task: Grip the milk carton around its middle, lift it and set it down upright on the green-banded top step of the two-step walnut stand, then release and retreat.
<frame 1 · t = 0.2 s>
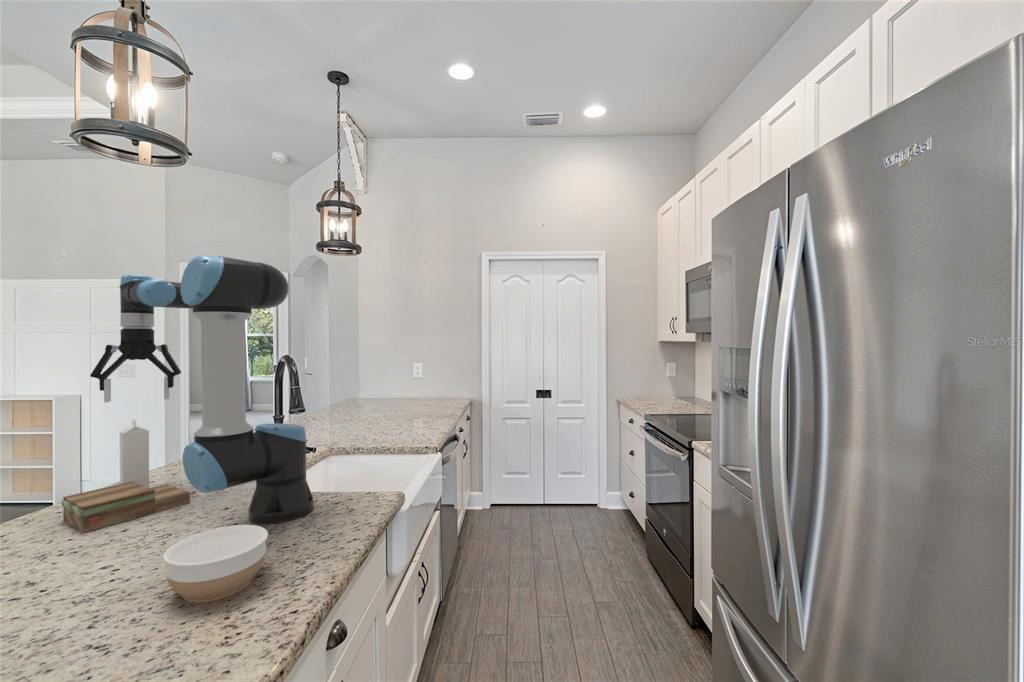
hand: (138, 400, 129), 28 cm above the countertop, fingers open, 13 cm apart
stand: (110, 516, 113), on the countertop
milk: (134, 495, 129), on the countertop
bowl: (218, 586, 81), on the countertop
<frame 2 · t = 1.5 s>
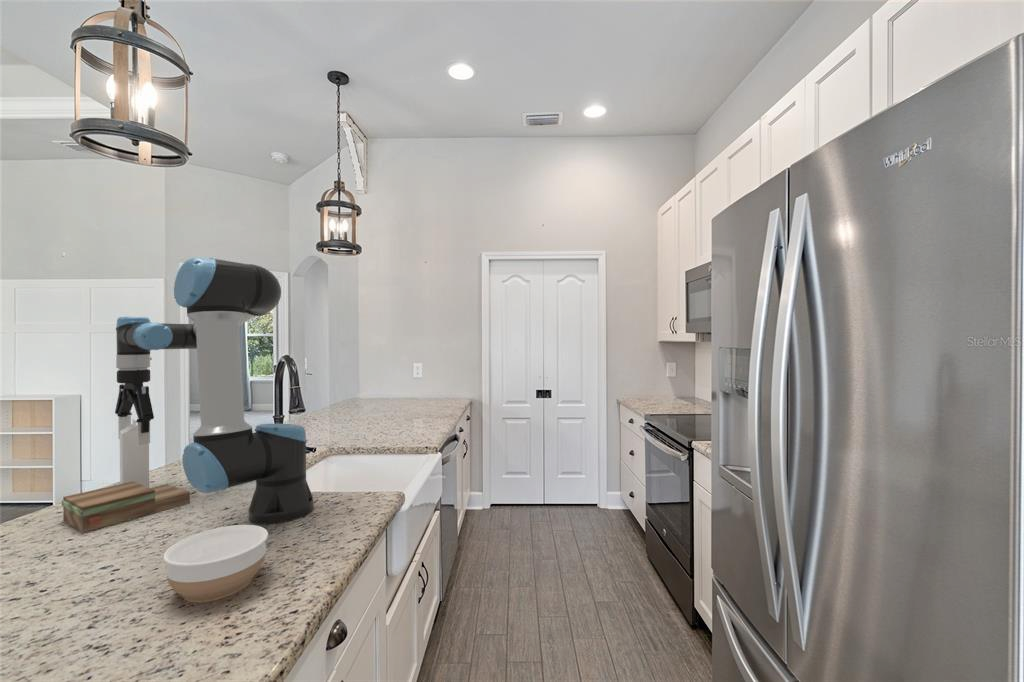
hand: (133, 441, 129), 16 cm above the countertop, fingers open, 13 cm apart
nothing on the countertop moved.
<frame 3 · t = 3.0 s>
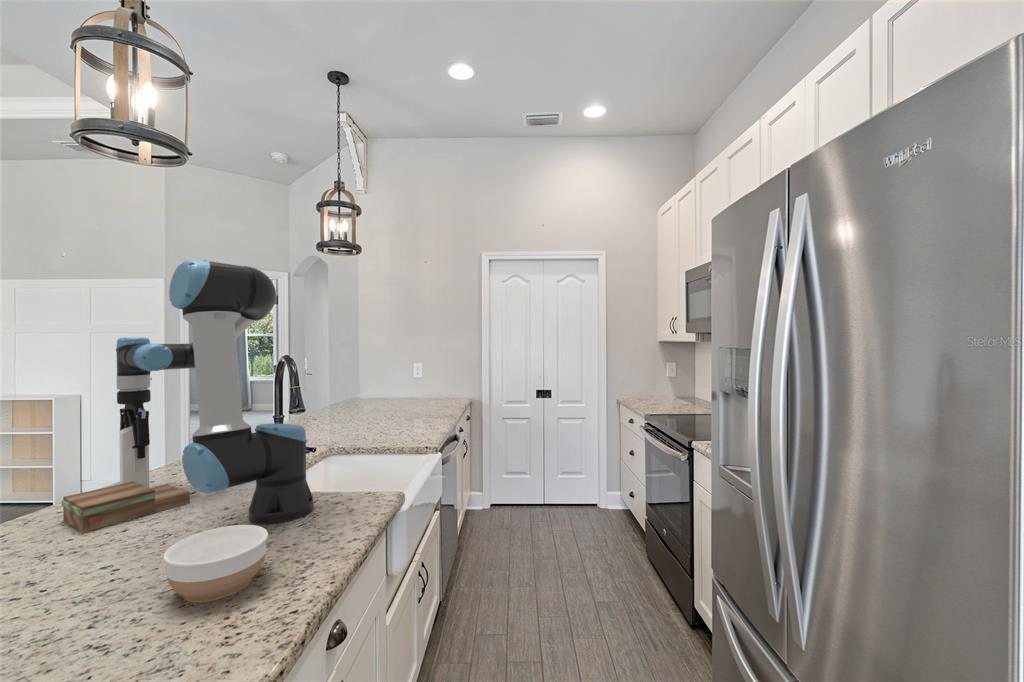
hand: (134, 467, 129), 8 cm above the countertop, fingers closed on milk, 7 cm apart
milk: (134, 495, 129), on the countertop, touching gripper
everything else where it was.
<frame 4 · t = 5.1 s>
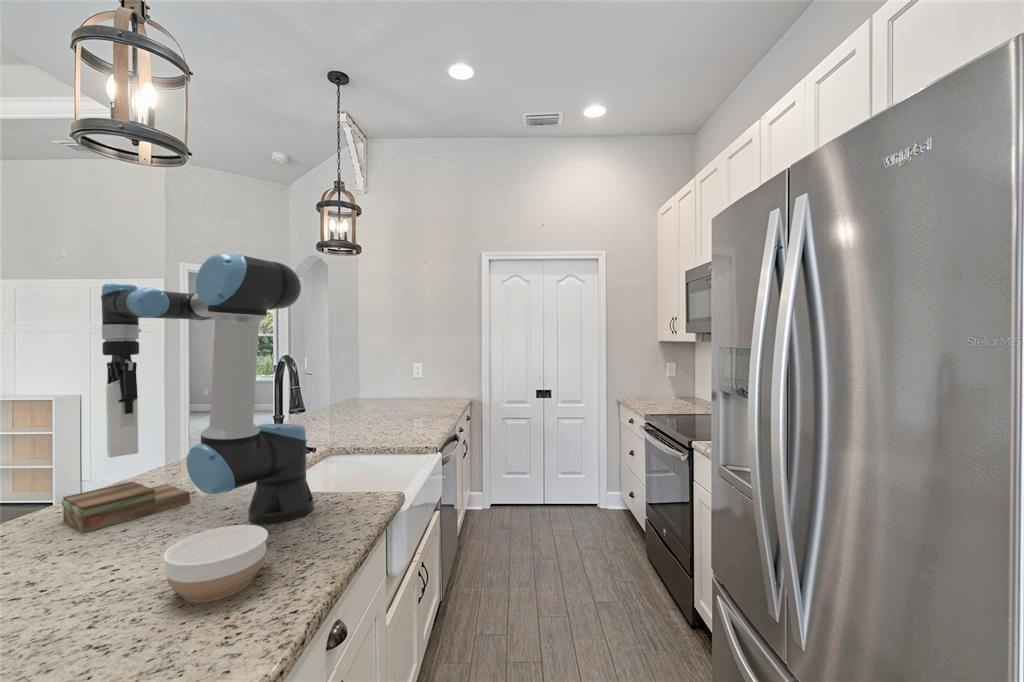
hand: (122, 424, 120), 22 cm above the countertop, fingers closed on milk, 7 cm apart
milk: (122, 454, 120), point 14 cm above the countertop, touching gripper
everything else where it was.
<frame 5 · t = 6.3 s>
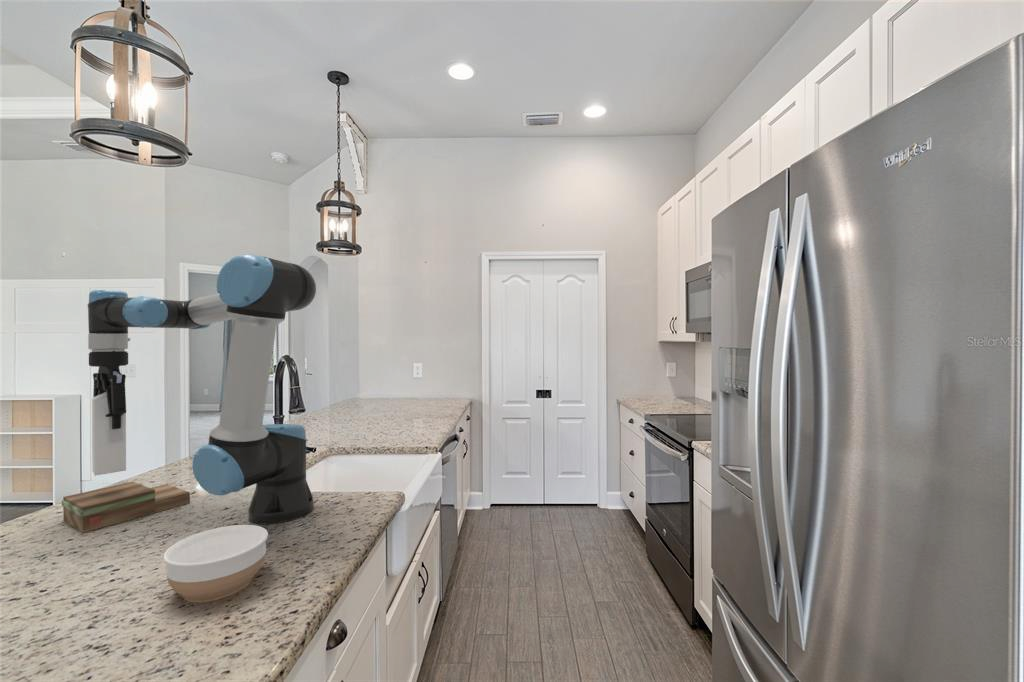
hand: (109, 439, 113), 20 cm above the countertop, fingers closed on milk, 7 cm apart
milk: (109, 471, 113), point 12 cm above the countertop, touching gripper
everything else where it was.
when the fingers open (15 cm above the countertop, at t = 7.3 s): milk drops 1 cm, resting on stand.
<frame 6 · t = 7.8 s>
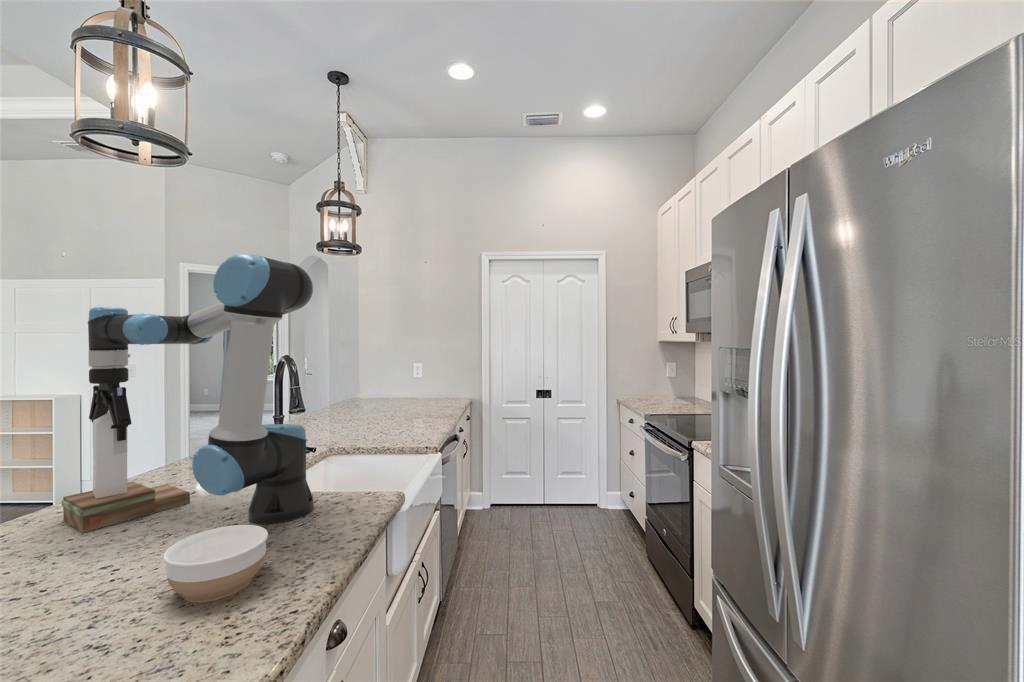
hand: (109, 450, 113), 17 cm above the countertop, fingers open, 13 cm apart
milk: (110, 494, 113), point 6 cm above the countertop, touching stand
everything else where it was.
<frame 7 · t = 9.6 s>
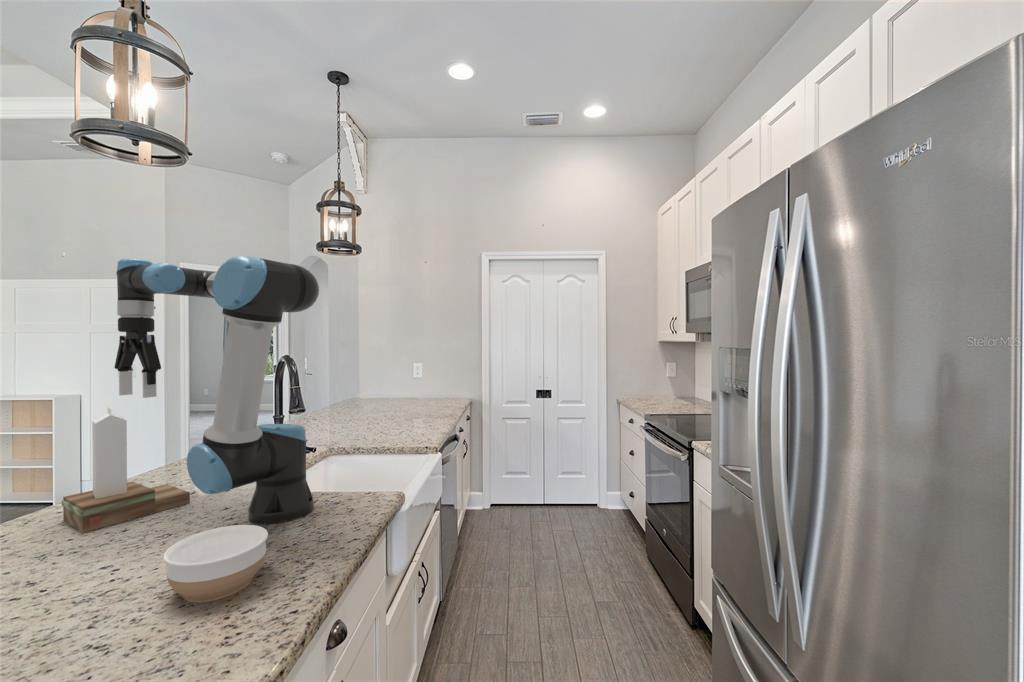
hand: (137, 396, 118), 30 cm above the countertop, fingers open, 13 cm apart
nothing on the countertop moved.
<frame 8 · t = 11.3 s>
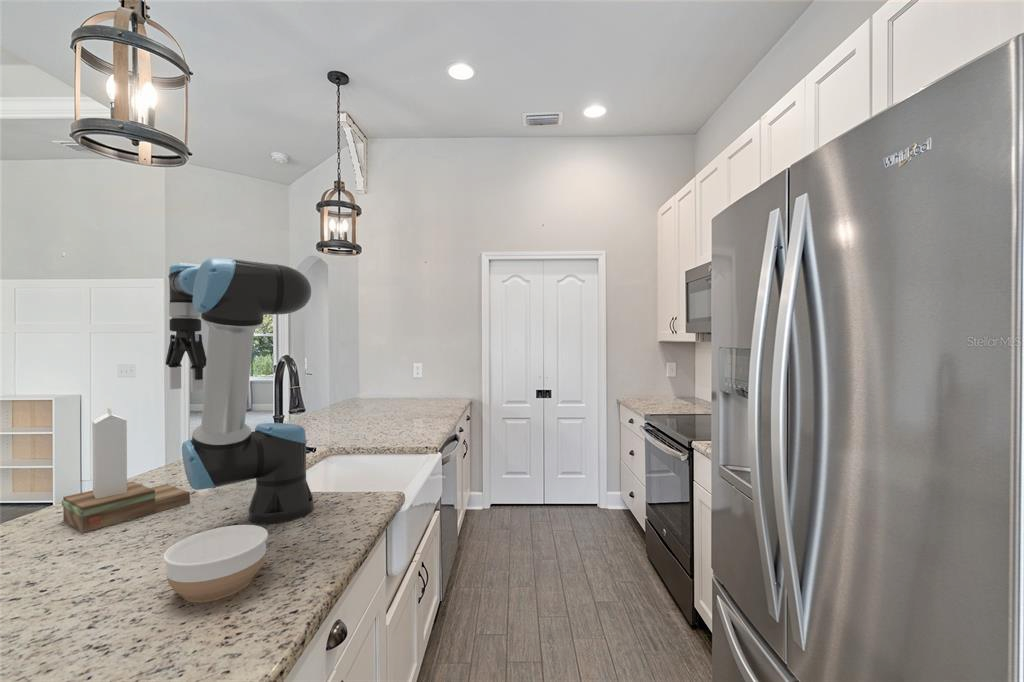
hand: (186, 390, 129), 31 cm above the countertop, fingers open, 13 cm apart
nothing on the countertop moved.
at the end: milk 0.1 cm from the stand (horizontally); milk touching stand; milk tilted 0° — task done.
